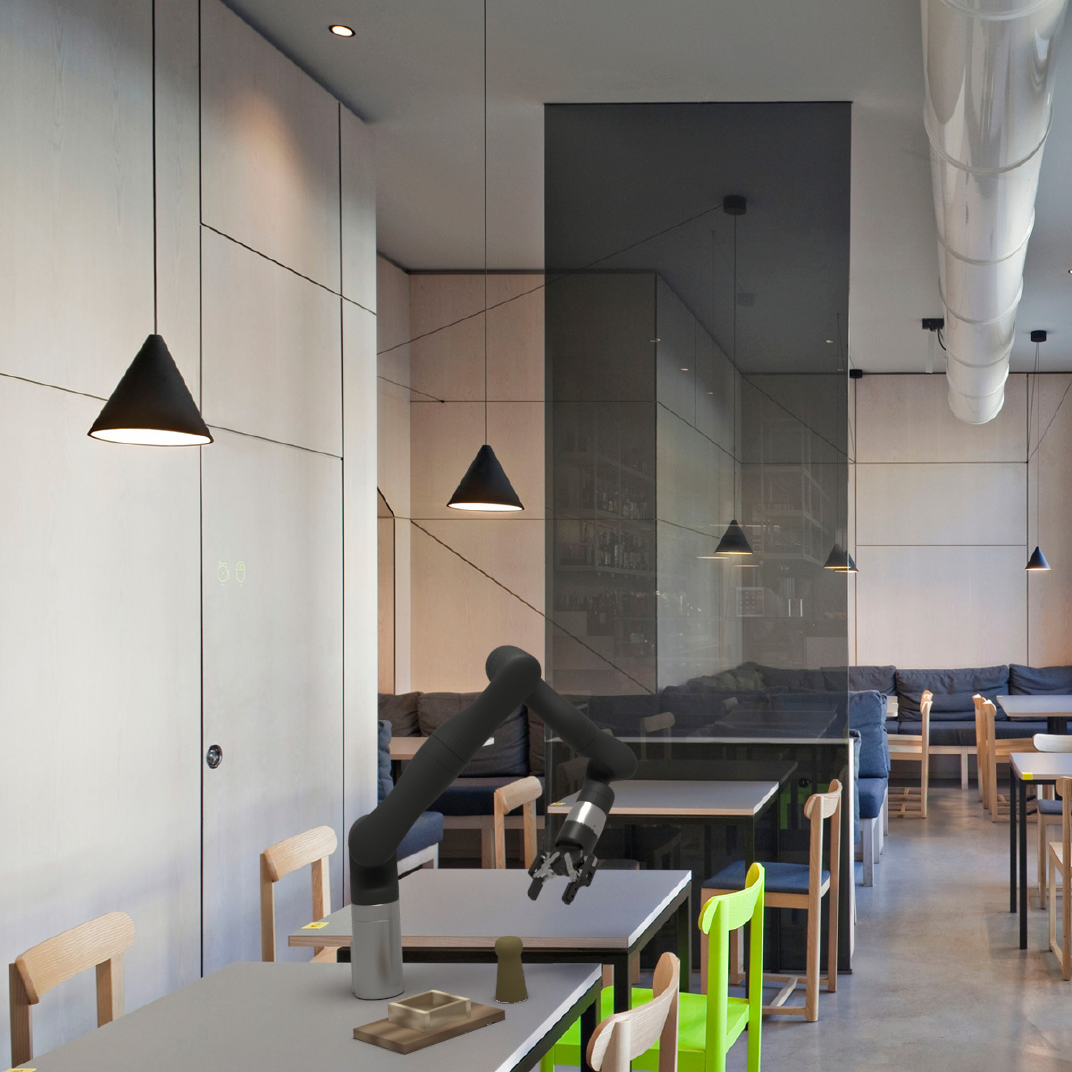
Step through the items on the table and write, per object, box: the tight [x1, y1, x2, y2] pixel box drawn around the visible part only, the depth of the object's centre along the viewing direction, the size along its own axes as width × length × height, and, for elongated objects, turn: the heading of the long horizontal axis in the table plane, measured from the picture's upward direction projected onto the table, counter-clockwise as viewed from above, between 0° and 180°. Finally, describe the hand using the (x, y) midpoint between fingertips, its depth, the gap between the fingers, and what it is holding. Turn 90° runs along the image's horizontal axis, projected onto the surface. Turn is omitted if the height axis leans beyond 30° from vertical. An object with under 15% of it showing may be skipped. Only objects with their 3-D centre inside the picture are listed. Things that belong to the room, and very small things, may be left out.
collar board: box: [352, 989, 506, 1055], centre depth 210 cm, size 14×22×4 cm, turn 134°
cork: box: [494, 935, 529, 1004], centre depth 225 cm, size 6×6×11 cm
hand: (548, 900), depth 234 cm, fingers open, 8 cm apart
